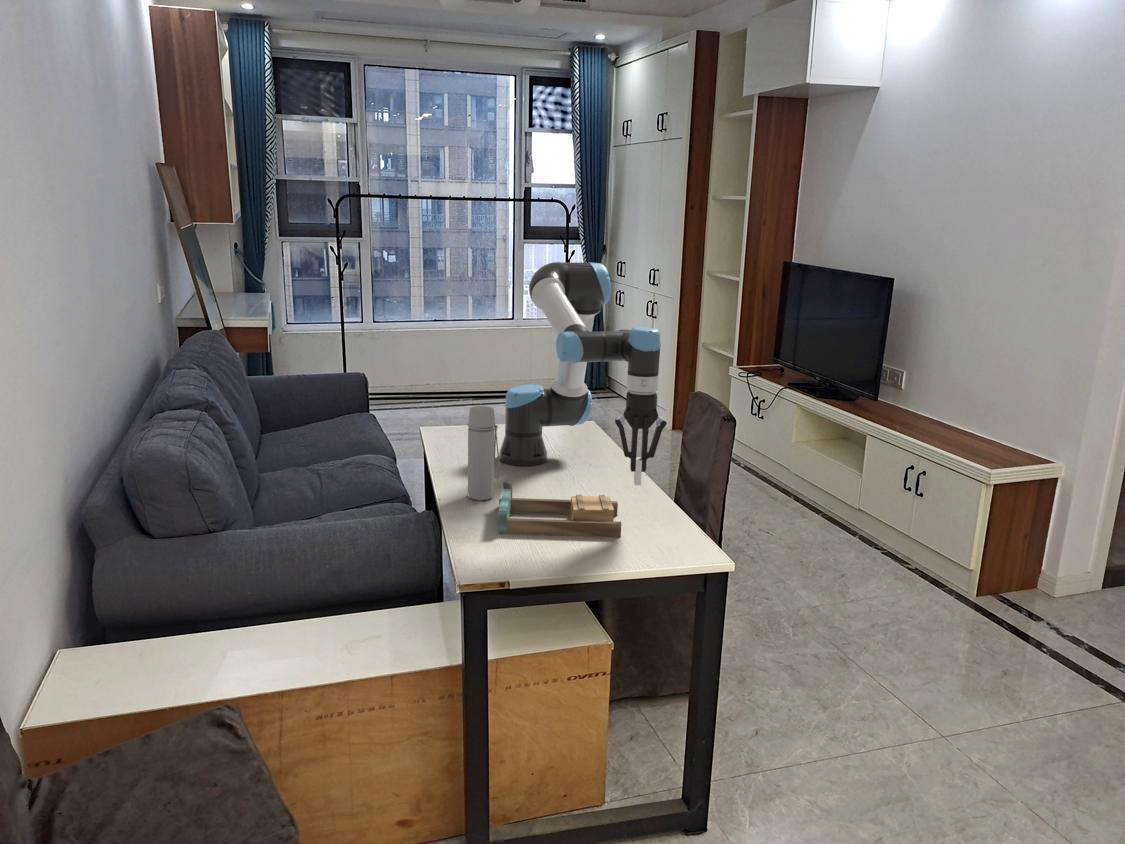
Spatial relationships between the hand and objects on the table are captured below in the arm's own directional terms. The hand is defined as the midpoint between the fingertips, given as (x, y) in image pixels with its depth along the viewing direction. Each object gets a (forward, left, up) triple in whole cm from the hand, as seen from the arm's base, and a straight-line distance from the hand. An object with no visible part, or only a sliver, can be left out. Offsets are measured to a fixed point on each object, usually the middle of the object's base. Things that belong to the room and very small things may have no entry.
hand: (637, 483), depth 208 cm
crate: (0, -11, -12) cm, 16 cm away
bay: (-2, -20, -11) cm, 23 cm away
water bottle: (-18, -40, -12) cm, 46 cm away
